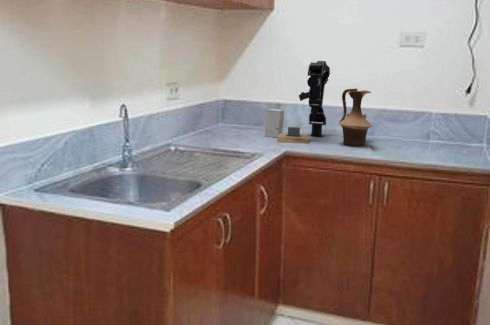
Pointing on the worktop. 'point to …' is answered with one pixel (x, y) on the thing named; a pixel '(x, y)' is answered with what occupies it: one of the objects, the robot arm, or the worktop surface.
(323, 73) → the robot arm
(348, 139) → the pitcher
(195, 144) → the worktop surface
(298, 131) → the dark grey rectangular prism
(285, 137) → the post socket
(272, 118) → the skincare box
